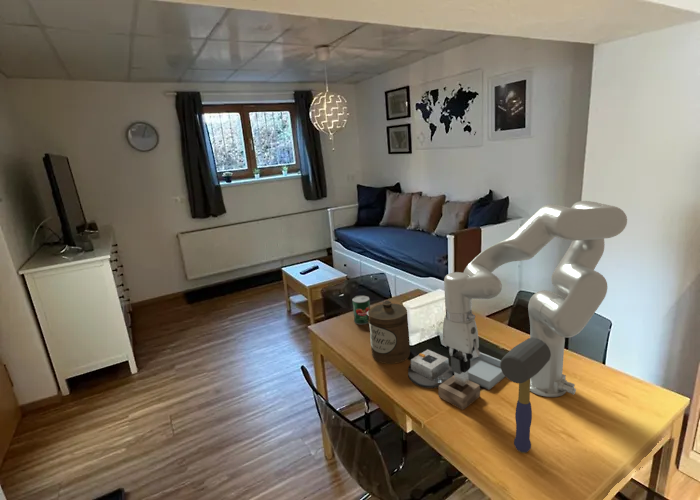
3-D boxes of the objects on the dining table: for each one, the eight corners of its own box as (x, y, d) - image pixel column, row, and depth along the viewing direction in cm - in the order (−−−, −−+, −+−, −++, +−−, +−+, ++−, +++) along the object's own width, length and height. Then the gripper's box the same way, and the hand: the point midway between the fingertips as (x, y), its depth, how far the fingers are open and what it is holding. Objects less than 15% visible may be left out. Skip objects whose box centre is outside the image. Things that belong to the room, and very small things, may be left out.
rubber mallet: (520, 430, 106) (523, 331, 99) (548, 444, 101) (554, 341, 93) (495, 455, 99) (497, 350, 91) (524, 472, 93) (529, 362, 85)
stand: (479, 396, 122) (480, 385, 120) (463, 410, 116) (462, 398, 115) (455, 384, 128) (455, 373, 127) (438, 396, 123) (438, 386, 122)
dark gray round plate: (461, 374, 133) (461, 369, 133) (433, 394, 124) (433, 388, 124) (427, 358, 145) (426, 353, 144) (399, 375, 136) (399, 370, 135)
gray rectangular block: (462, 376, 124) (461, 348, 121) (471, 380, 122) (469, 352, 119) (452, 384, 120) (450, 356, 118) (460, 388, 118) (459, 359, 116)
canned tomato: (361, 326, 175) (360, 303, 172) (350, 321, 181) (348, 299, 178) (374, 320, 180) (372, 298, 177) (363, 315, 186) (361, 294, 183)
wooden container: (363, 354, 151) (359, 302, 145) (389, 340, 160) (386, 290, 155) (392, 369, 140) (388, 313, 134) (418, 352, 149) (415, 299, 144)
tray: (510, 372, 132) (511, 364, 132) (489, 389, 124) (489, 381, 123) (475, 357, 143) (475, 350, 142) (453, 373, 134) (453, 365, 134)
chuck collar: (448, 368, 133) (448, 357, 132) (431, 380, 128) (431, 368, 127) (428, 359, 140) (427, 348, 139) (411, 369, 135) (410, 358, 134)
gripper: (490, 316, 111) (491, 372, 116) (443, 303, 123) (446, 354, 128) (475, 326, 106) (477, 384, 111) (428, 311, 119) (432, 364, 124)
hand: (461, 367), depth 120 cm, fingers closed on gray rectangular block, 3 cm apart
